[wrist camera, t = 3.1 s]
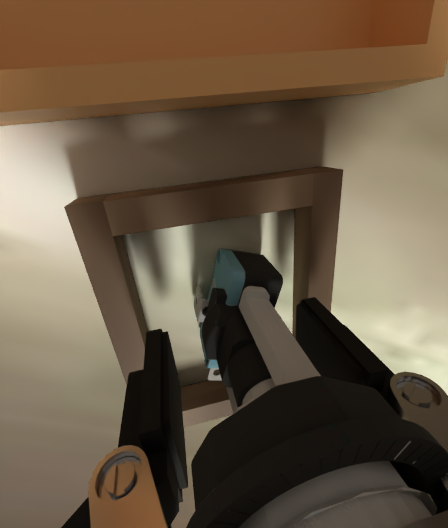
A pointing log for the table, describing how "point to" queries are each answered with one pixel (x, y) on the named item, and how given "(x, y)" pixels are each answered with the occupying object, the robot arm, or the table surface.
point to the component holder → (191, 212)
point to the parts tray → (207, 53)
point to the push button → (297, 425)
